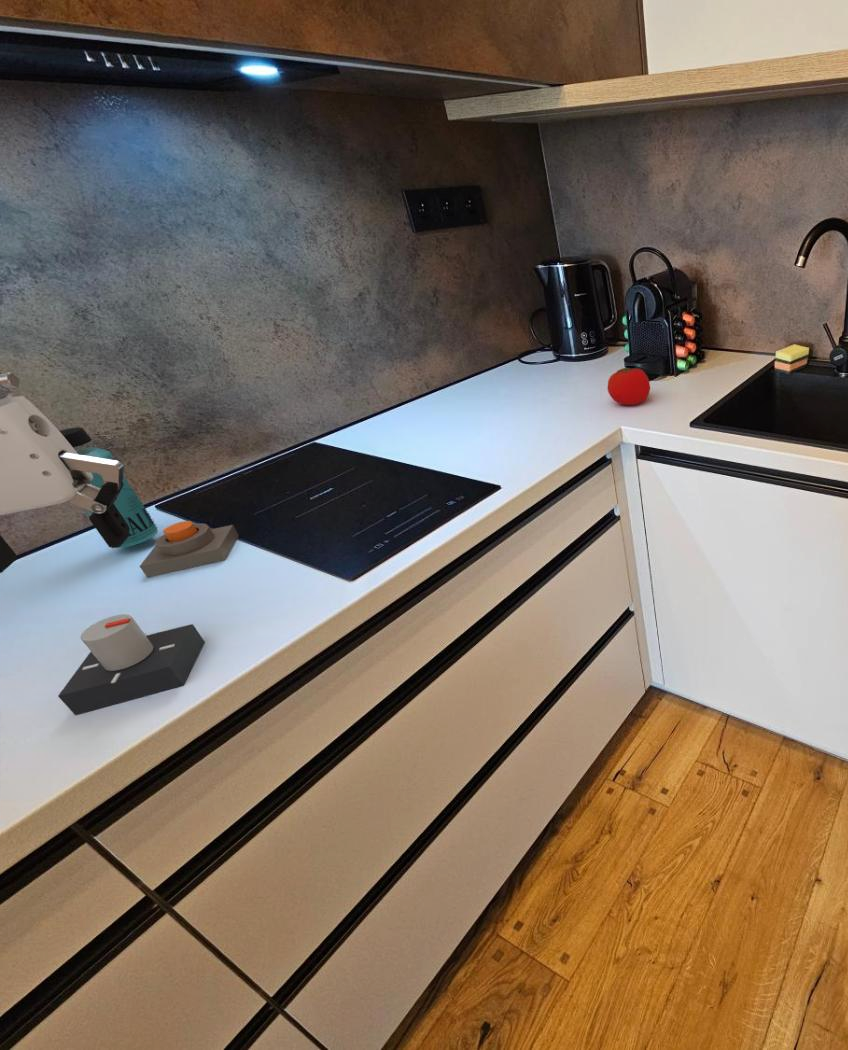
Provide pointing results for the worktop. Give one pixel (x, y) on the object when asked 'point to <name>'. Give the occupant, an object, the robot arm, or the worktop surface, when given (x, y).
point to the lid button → (180, 531)
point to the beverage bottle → (127, 498)
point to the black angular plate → (135, 672)
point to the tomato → (629, 386)
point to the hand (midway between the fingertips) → (65, 553)
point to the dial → (117, 642)
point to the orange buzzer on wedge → (190, 550)
